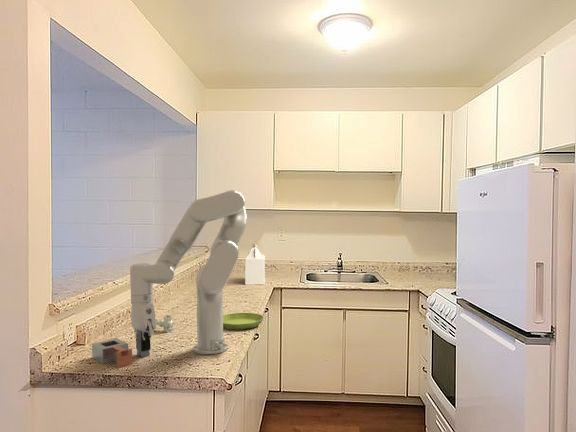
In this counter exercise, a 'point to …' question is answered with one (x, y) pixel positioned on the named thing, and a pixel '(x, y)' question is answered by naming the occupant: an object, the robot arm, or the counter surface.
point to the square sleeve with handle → (112, 352)
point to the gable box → (255, 266)
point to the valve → (166, 323)
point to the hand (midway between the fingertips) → (143, 348)
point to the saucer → (242, 320)
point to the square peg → (139, 351)
